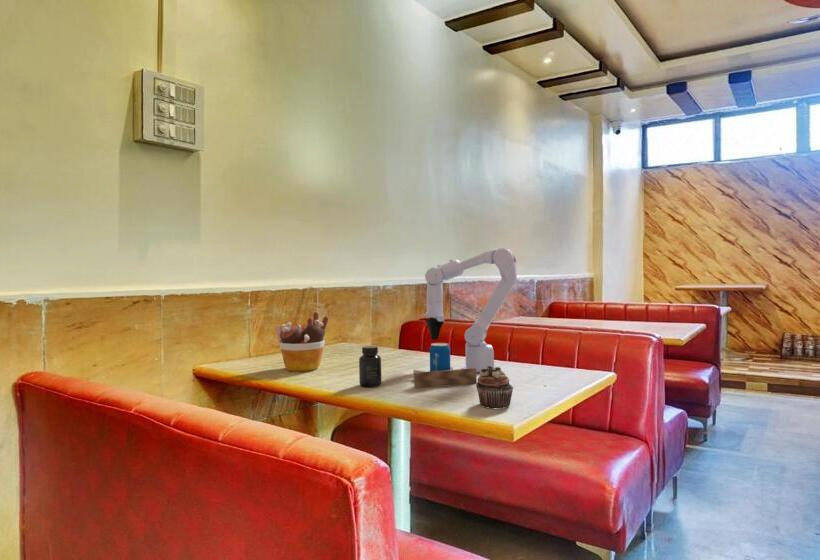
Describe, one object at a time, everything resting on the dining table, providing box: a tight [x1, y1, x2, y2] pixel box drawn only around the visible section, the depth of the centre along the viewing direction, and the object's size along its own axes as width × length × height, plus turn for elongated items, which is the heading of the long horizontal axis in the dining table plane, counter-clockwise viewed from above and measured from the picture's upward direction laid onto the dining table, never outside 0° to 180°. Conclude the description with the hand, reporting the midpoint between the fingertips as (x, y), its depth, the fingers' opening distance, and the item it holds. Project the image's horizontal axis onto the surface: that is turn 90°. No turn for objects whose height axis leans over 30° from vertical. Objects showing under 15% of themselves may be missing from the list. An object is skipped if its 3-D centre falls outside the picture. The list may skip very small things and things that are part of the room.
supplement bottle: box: [358, 345, 382, 389], centre depth 169 cm, size 7×7×12 cm
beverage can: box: [429, 342, 451, 371], centre depth 173 cm, size 6×6×12 cm
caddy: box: [412, 366, 478, 389], centre depth 174 cm, size 20×13×4 cm, turn 107°
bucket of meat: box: [274, 312, 329, 373], centre depth 198 cm, size 20×16×20 cm
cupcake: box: [475, 366, 514, 409], centre depth 144 cm, size 10×10×10 cm
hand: (434, 339), depth 194 cm, fingers closed
